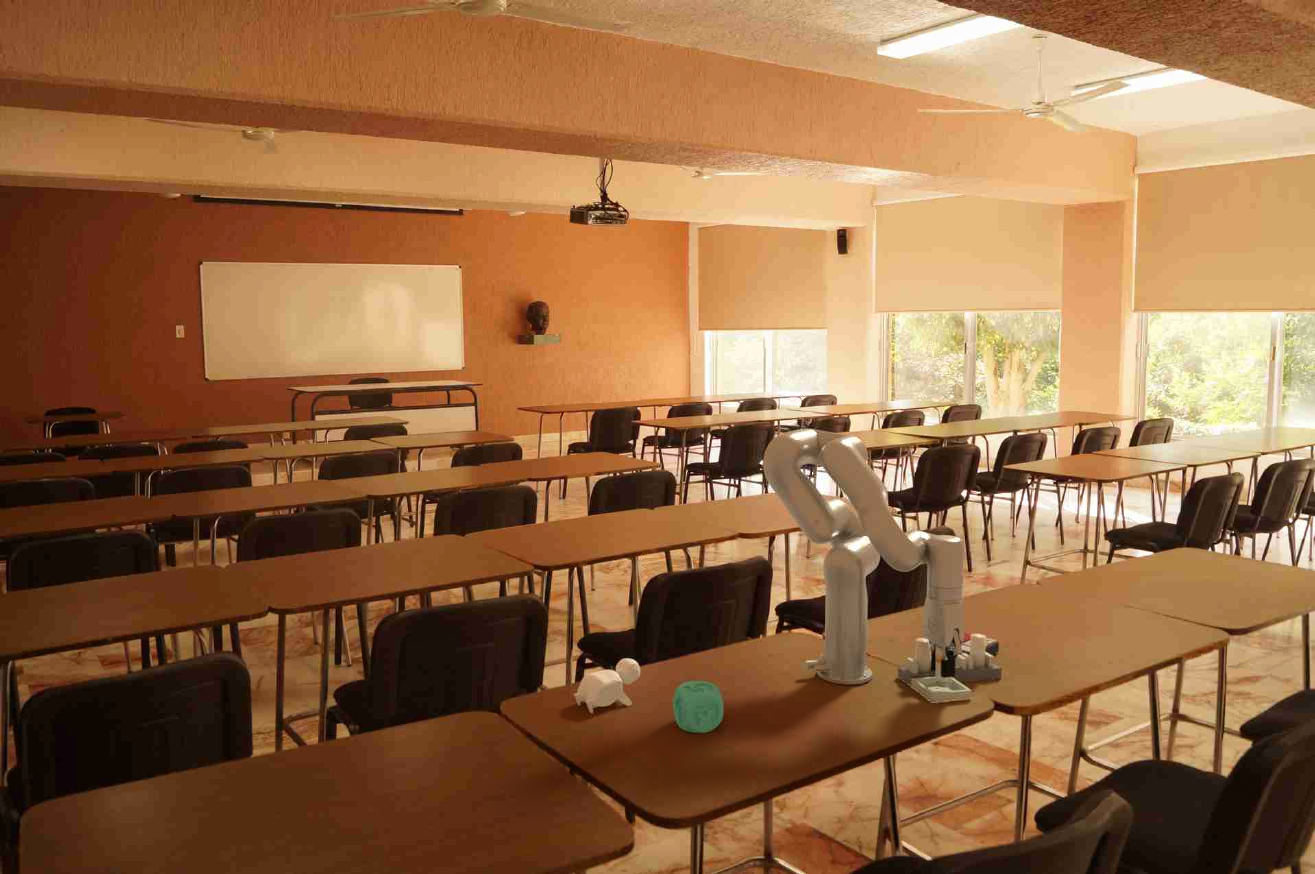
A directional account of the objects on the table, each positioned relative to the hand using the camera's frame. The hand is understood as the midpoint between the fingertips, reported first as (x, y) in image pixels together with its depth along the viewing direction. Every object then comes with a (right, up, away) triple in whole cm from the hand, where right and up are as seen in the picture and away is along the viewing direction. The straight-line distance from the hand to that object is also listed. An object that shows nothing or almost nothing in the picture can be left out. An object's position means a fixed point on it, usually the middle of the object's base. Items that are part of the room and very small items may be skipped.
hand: (942, 672), depth 215 cm
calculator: (+13, -2, +26) cm, 29 cm away
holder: (+5, -4, +10) cm, 12 cm away
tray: (0, -5, +1) cm, 5 cm away
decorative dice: (-55, -7, -16) cm, 58 cm away
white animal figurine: (-73, -6, -4) cm, 74 cm away
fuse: (0, -3, 0) cm, 3 cm away
